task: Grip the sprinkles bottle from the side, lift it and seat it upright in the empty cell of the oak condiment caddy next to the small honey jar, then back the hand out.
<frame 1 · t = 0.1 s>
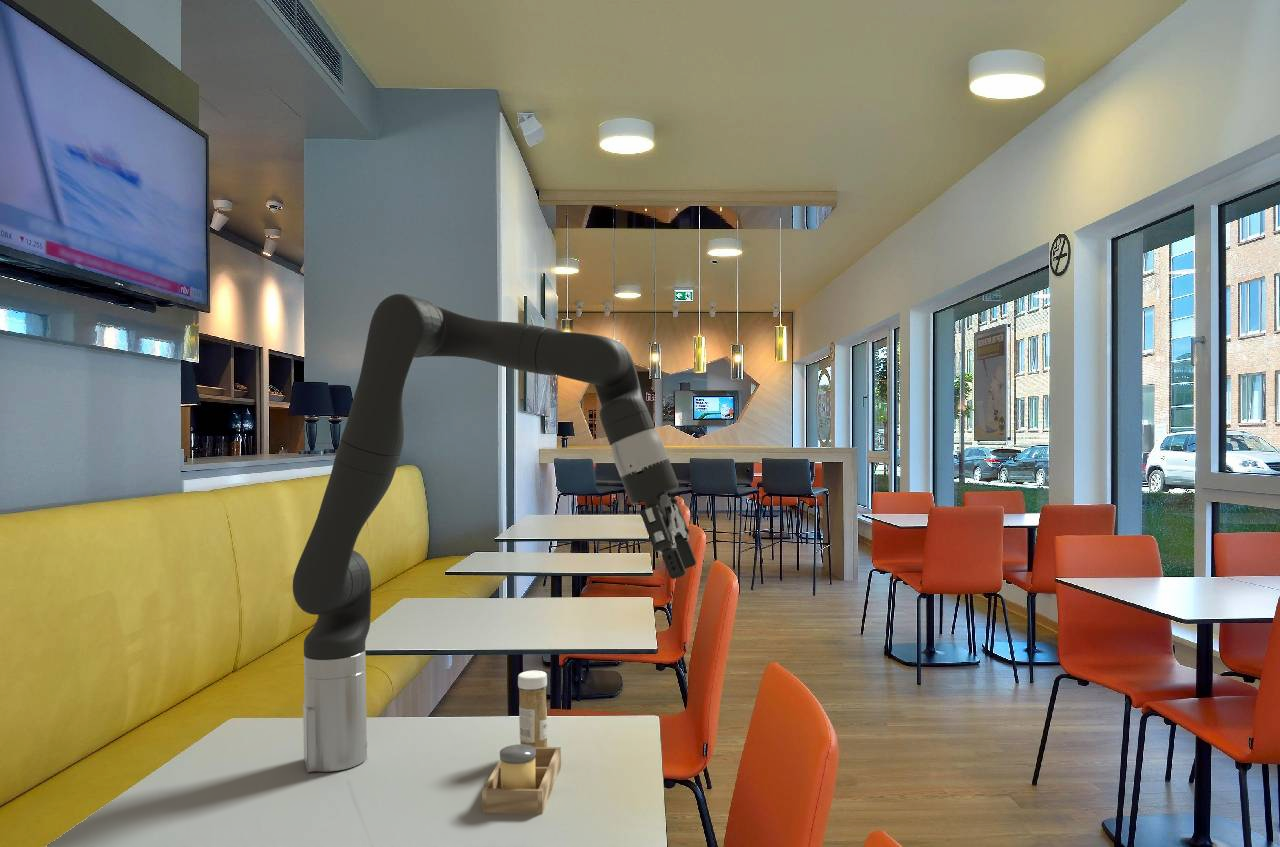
hand: (684, 571, 124), 31 cm above the table, tool tilted 20°, fingers open, 8 cm apart
honey jar: (518, 799, 120), resting on caddy
sprinkles bottle: (533, 759, 137), on the table
caddy: (524, 791, 124), on the table
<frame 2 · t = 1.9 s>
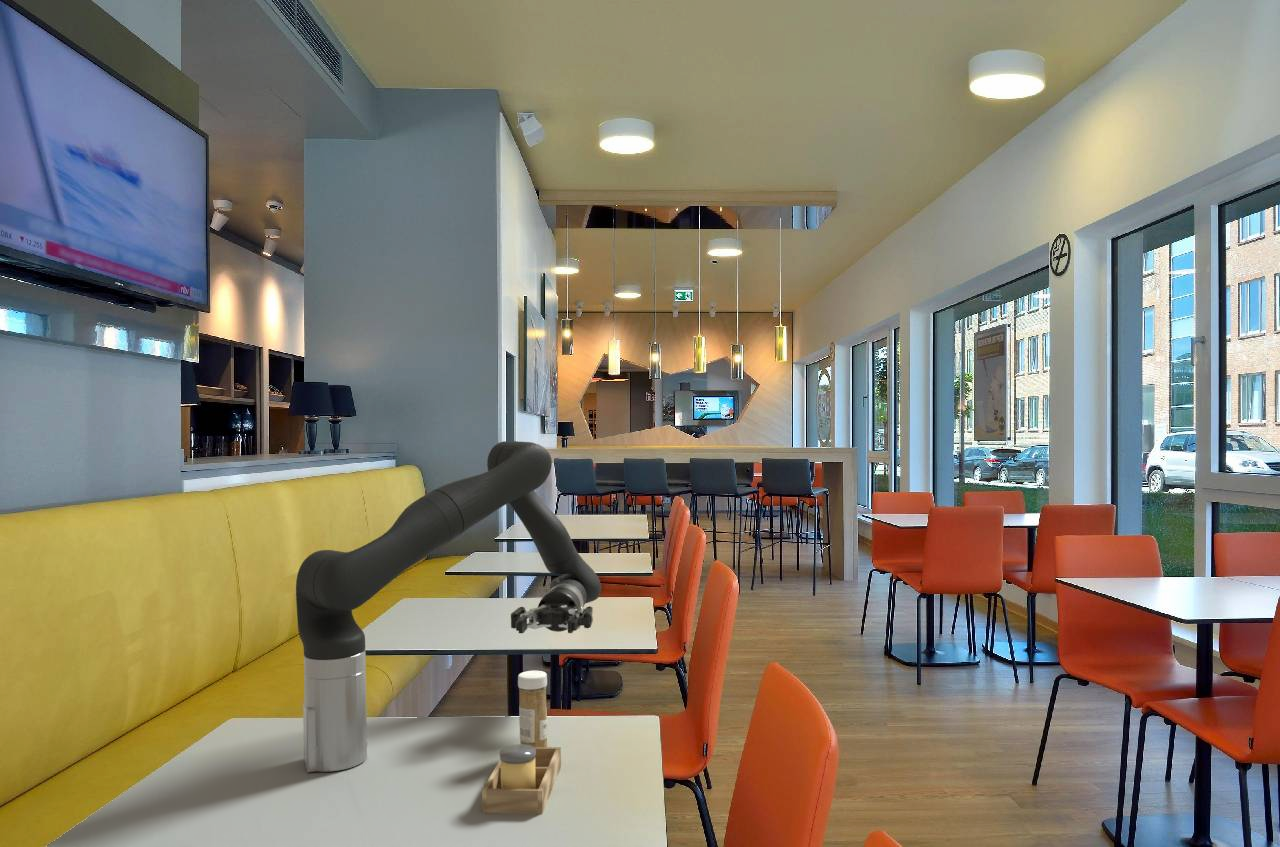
hand: (545, 627, 147), 18 cm above the table, tool horizontal, fingers open, 8 cm apart
nothing on the table moved.
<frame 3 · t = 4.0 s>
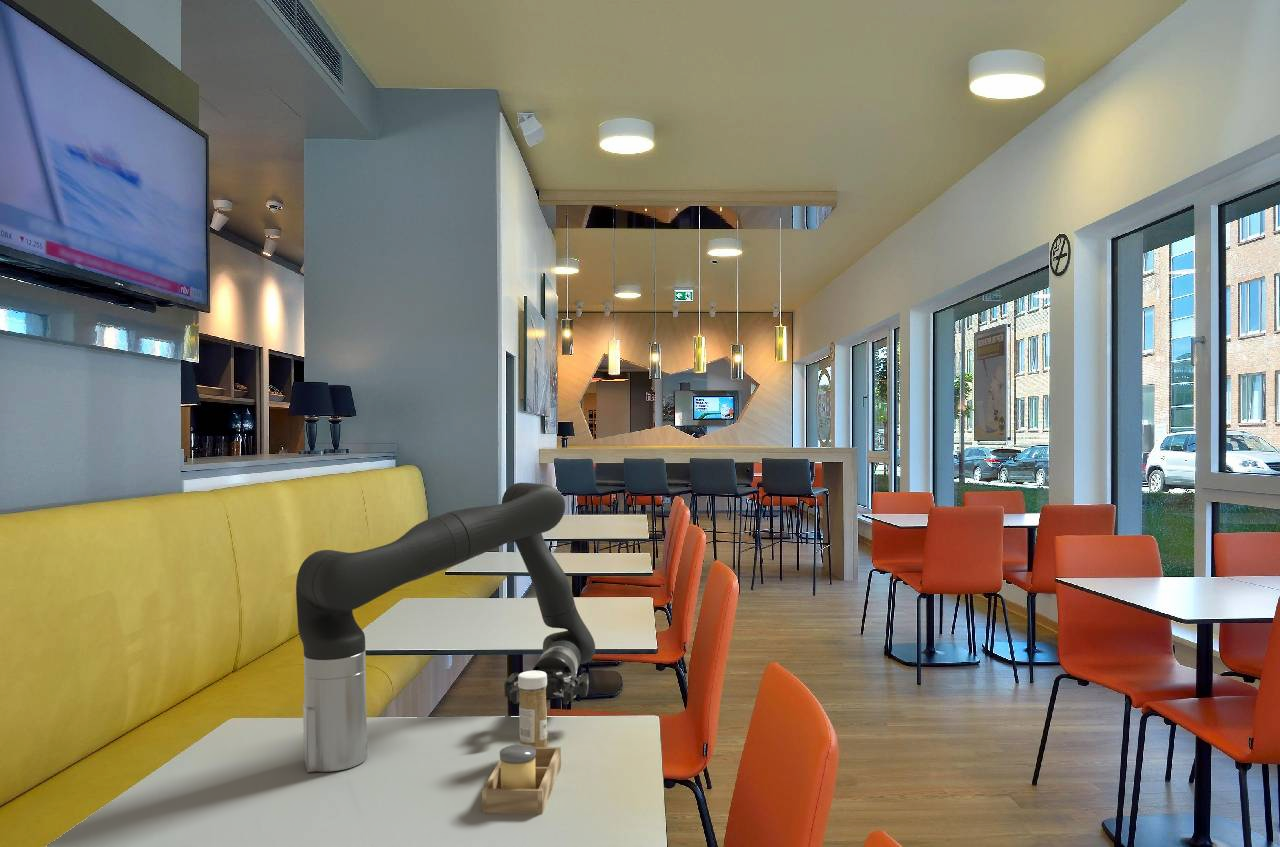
hand: (540, 698, 143), 7 cm above the table, tool horizontal, fingers open, 8 cm apart
nothing on the table moved.
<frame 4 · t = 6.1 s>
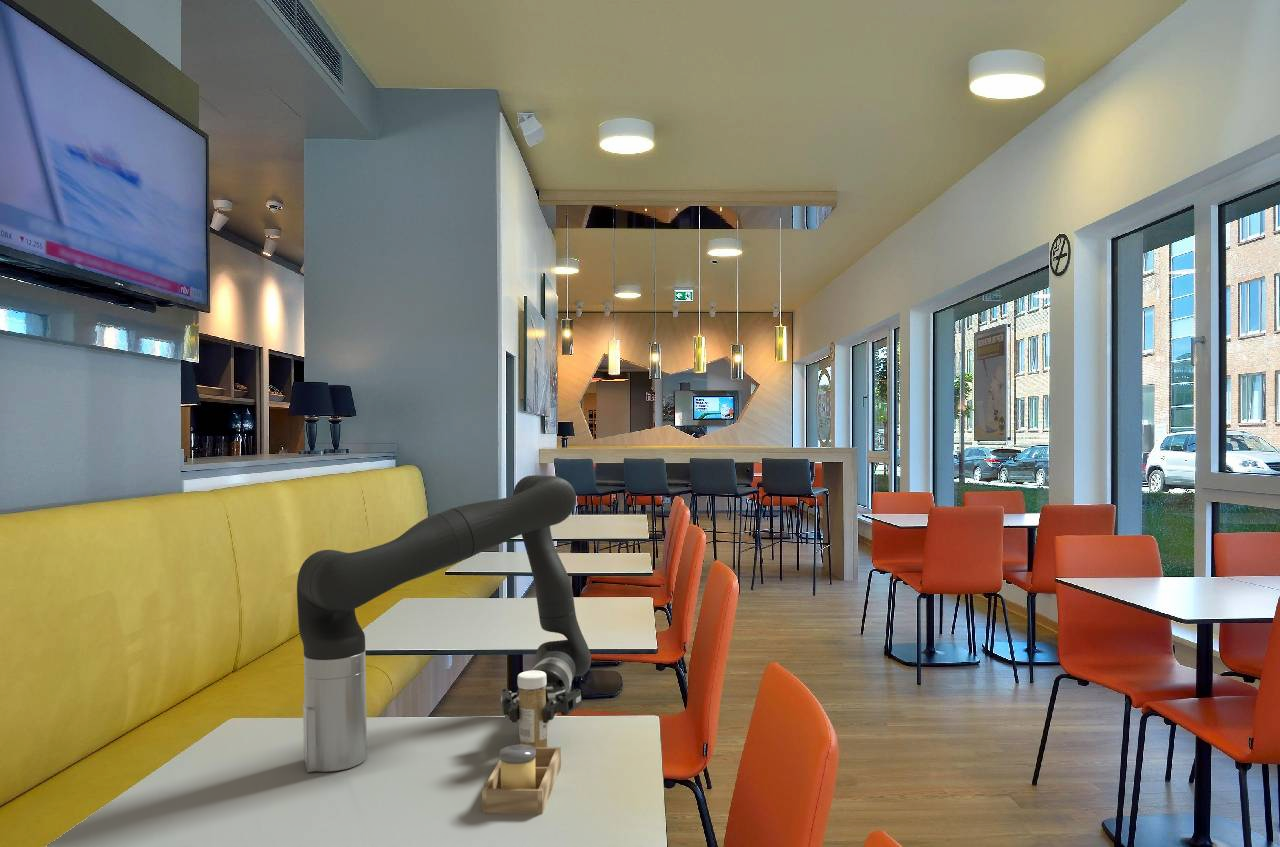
hand: (529, 716, 134), 8 cm above the table, tool horizontal, fingers closed on sprinkles bottle, 4 cm apart
sprinkles bottle: (533, 759, 137), on the table, touching gripper
everything else where it was.
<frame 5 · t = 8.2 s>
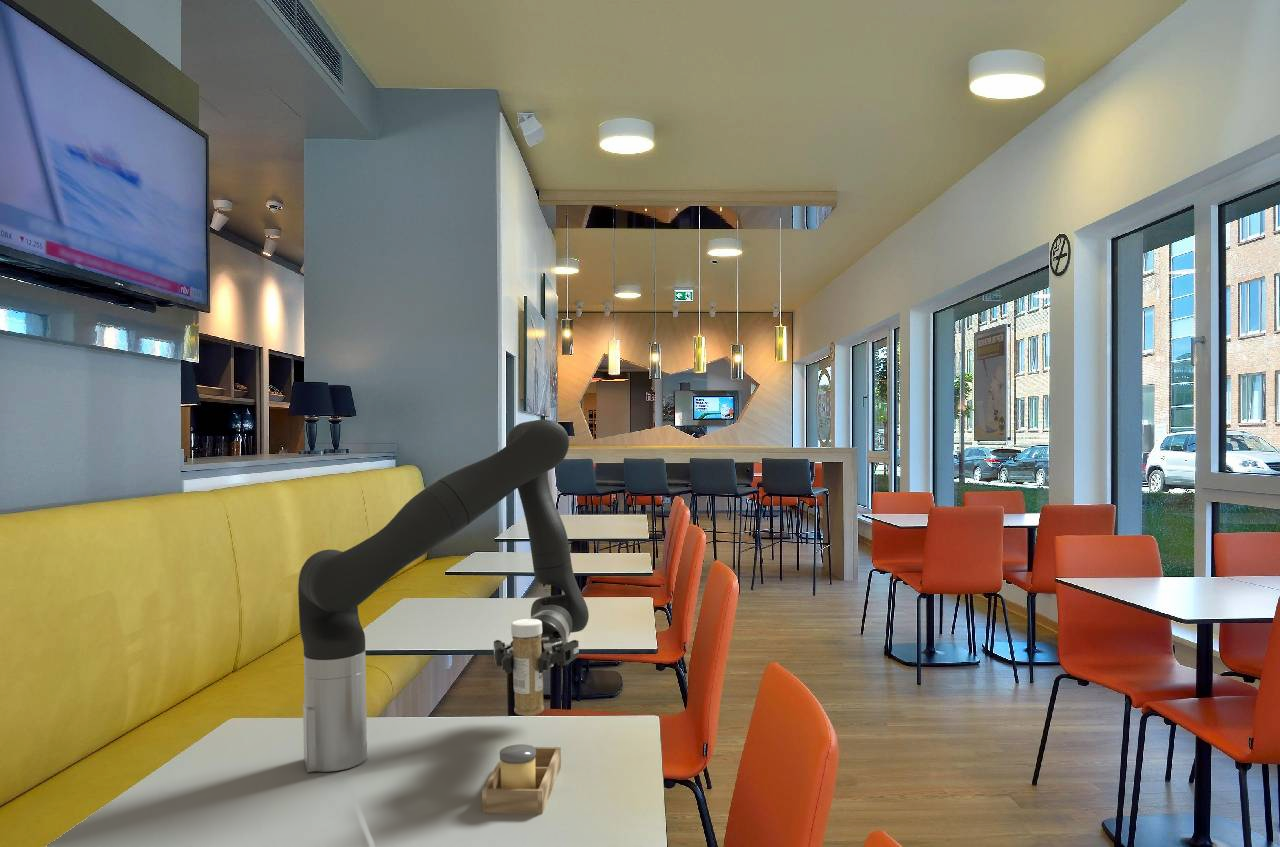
hand: (524, 666, 126), 18 cm above the table, tool horizontal, fingers closed on sprinkles bottle, 4 cm apart
sprinkles bottle: (529, 712, 128), point 10 cm above the table, touching gripper
everything else where it was.
when the fingers open (9 cm above the table, at t = 10.2 s): sprinkles bottle stays where it is, resting on caddy.
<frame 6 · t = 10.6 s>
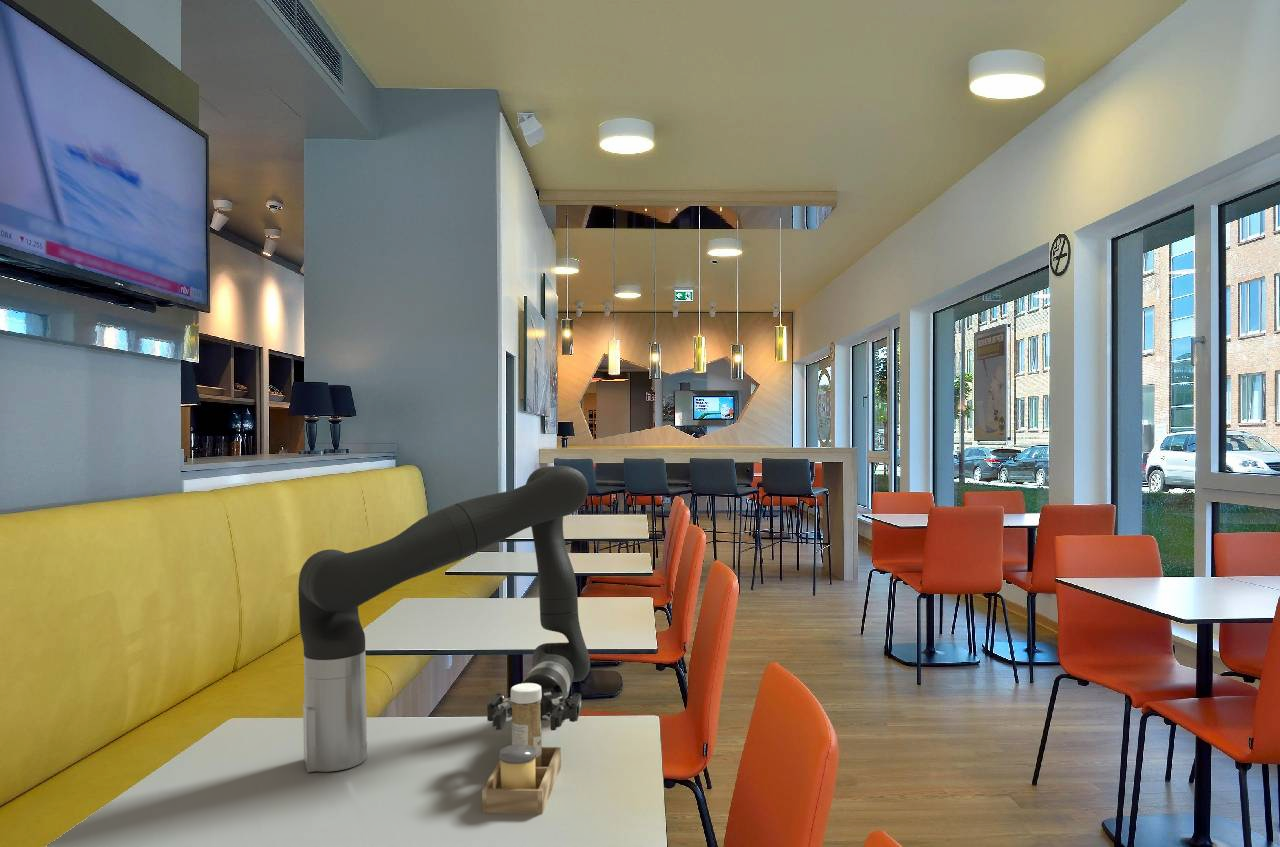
hand: (525, 723, 126), 9 cm above the table, tool horizontal, fingers open, 7 cm apart
sprinkles bottle: (527, 778, 128), resting on caddy
everything else where it was.
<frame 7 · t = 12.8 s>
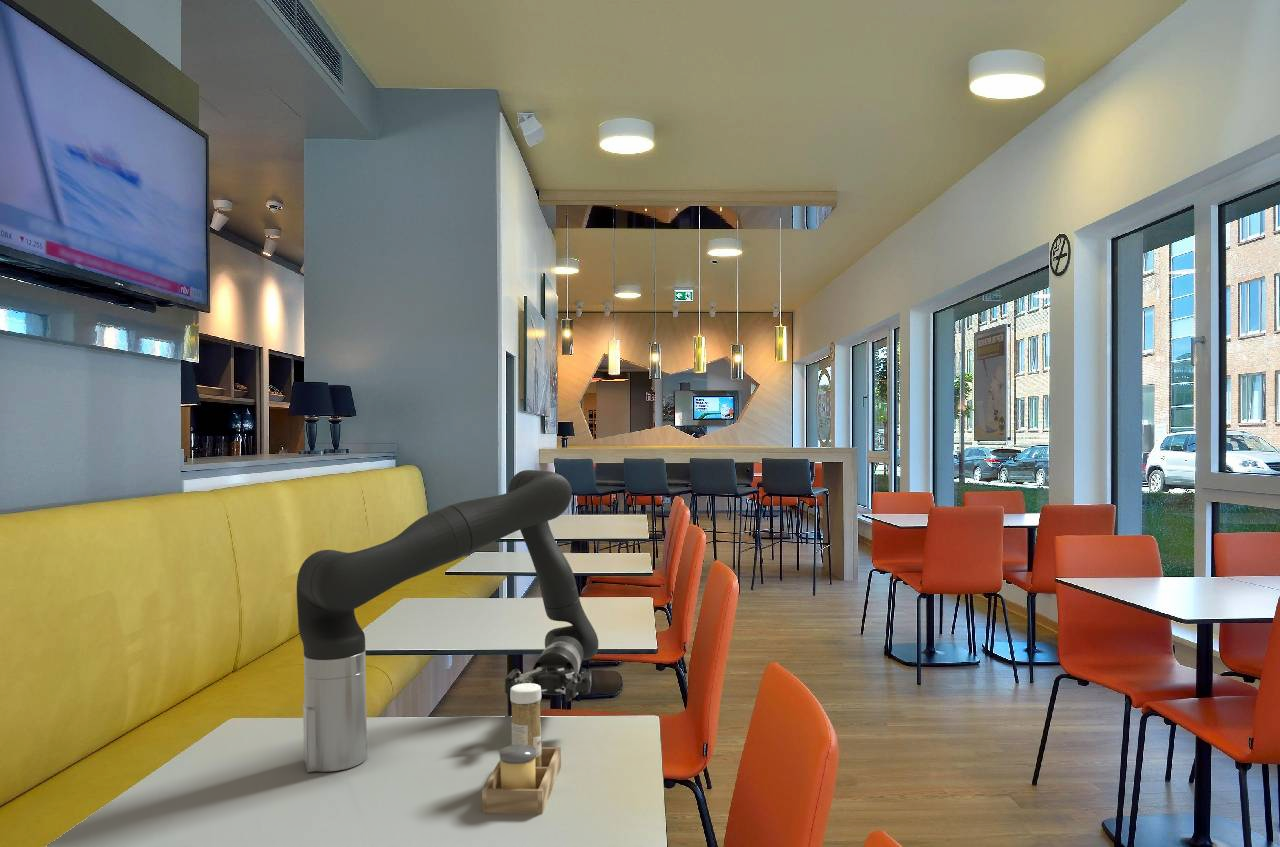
hand: (541, 694, 139), 9 cm above the table, tool horizontal, fingers open, 8 cm apart
nothing on the table moved.
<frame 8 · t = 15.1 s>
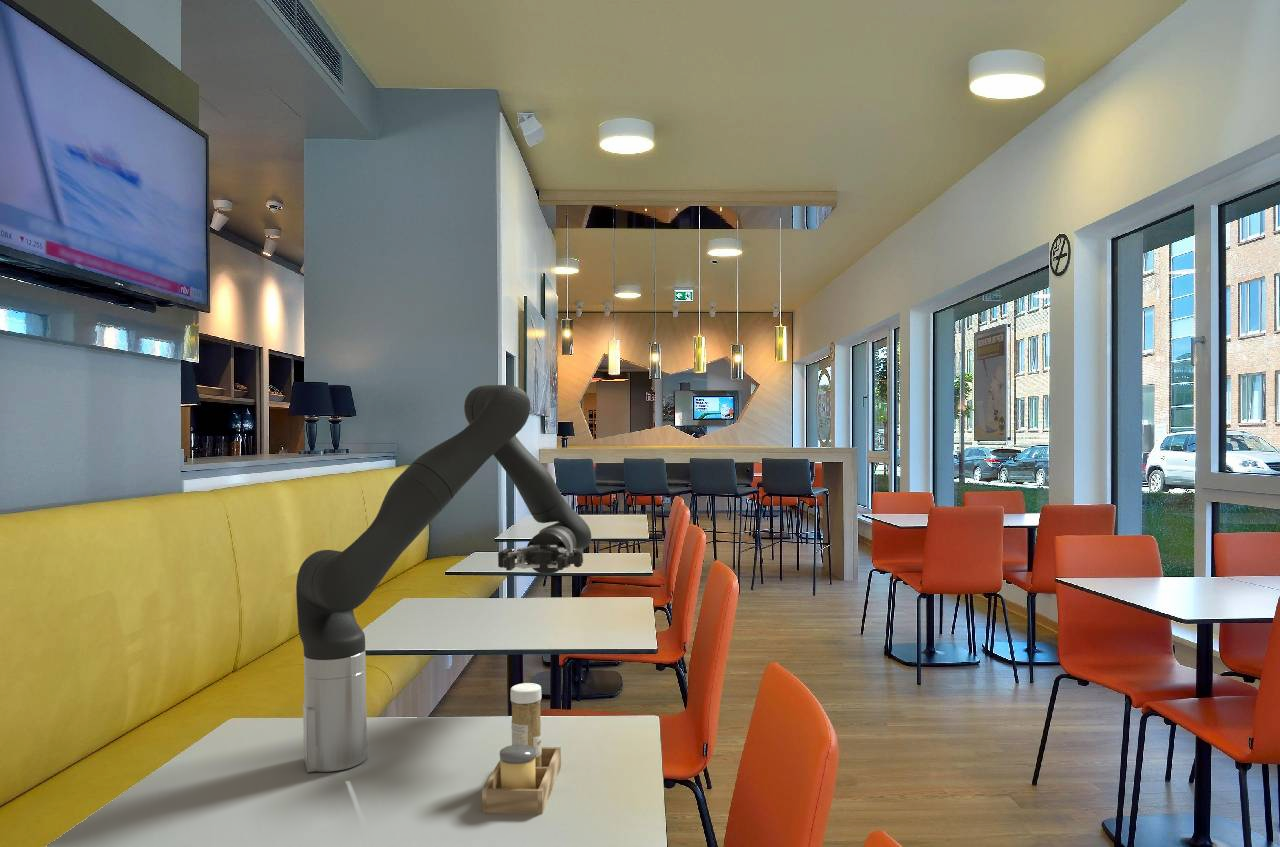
hand: (533, 564, 142), 30 cm above the table, tool horizontal, fingers open, 8 cm apart
nothing on the table moved.
at the end: sprinkles bottle 0.4 cm from the target spot, resting on caddy; sprinkles bottle tilted 0°; the gripper is holding nothing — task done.
